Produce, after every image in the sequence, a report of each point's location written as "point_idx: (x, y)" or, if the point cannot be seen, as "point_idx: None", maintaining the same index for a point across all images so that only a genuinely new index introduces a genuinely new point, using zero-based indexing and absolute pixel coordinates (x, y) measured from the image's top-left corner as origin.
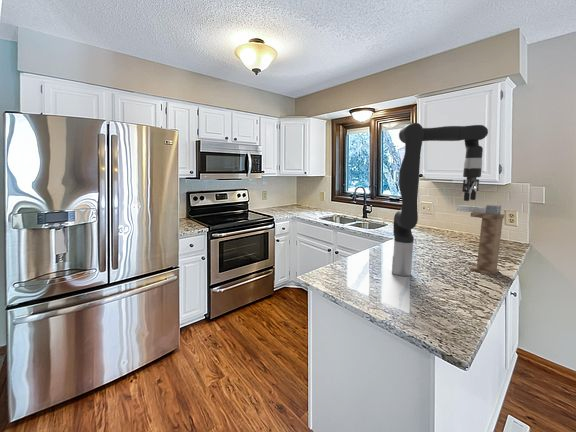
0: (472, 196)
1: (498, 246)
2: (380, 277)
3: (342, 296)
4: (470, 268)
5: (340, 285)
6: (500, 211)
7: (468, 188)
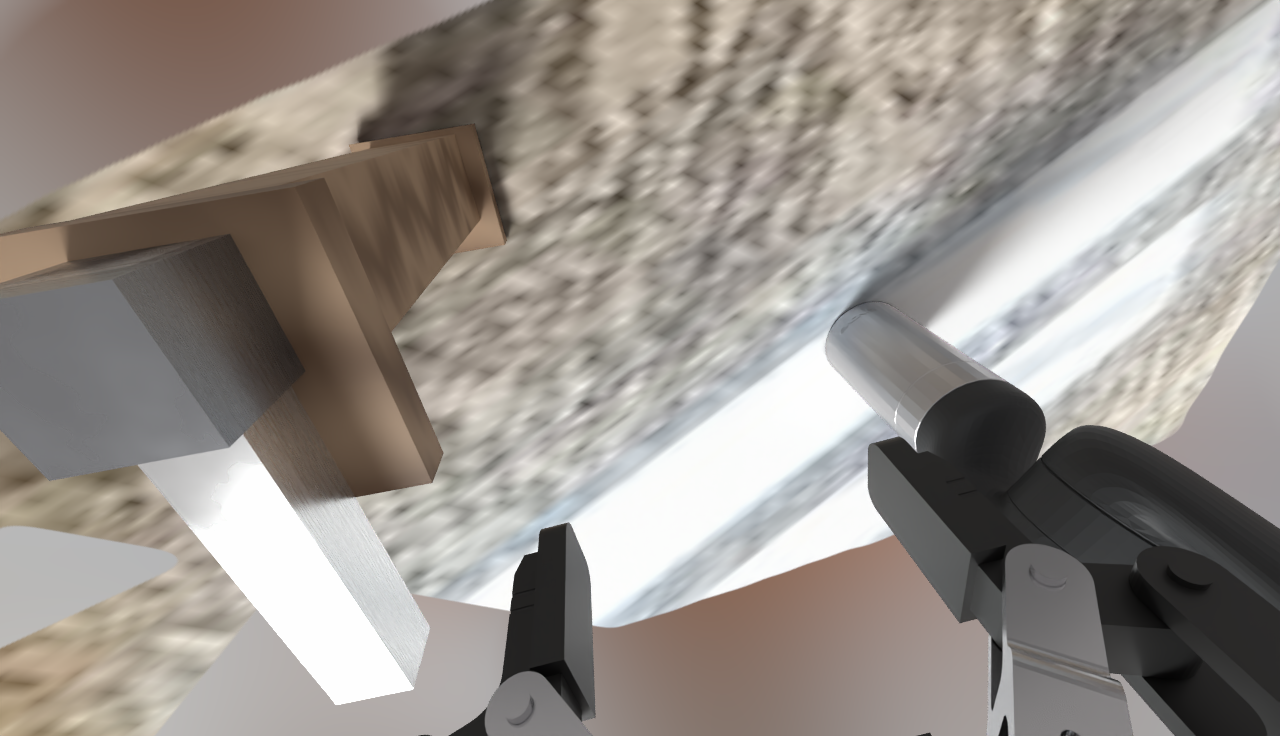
0: (582, 604)
1: (315, 163)
2: (981, 334)
3: (1269, 237)
4: (504, 241)
5: (1169, 324)
6: (25, 276)
7: (1274, 643)
